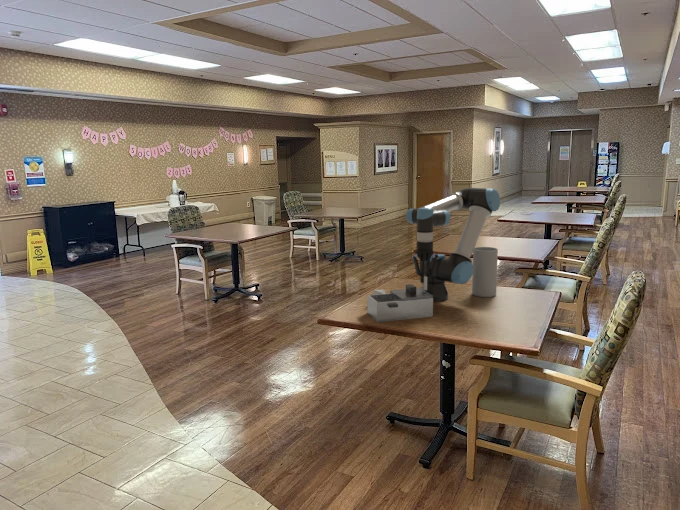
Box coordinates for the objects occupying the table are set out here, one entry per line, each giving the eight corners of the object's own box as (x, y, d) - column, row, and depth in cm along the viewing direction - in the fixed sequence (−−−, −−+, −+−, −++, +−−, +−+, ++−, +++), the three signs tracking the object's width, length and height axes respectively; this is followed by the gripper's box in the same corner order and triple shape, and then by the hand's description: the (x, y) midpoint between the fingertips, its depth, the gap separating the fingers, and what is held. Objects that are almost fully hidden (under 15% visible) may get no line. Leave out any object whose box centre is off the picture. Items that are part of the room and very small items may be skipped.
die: (382, 310, 258) (392, 293, 259) (367, 301, 258) (376, 284, 260) (381, 311, 266) (390, 294, 268) (366, 302, 267) (375, 286, 268)
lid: (419, 289, 257) (419, 280, 256) (432, 297, 242) (433, 288, 241) (389, 292, 253) (389, 283, 252) (401, 300, 238) (401, 291, 237)
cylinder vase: (470, 291, 287) (472, 246, 282) (494, 291, 285) (495, 246, 280) (473, 297, 275) (474, 251, 270) (497, 297, 273) (499, 251, 268)
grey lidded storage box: (418, 306, 260) (418, 289, 258) (434, 317, 242) (434, 299, 240) (366, 312, 253) (365, 294, 252) (378, 323, 235) (378, 304, 234)
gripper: (434, 238, 249) (433, 286, 254) (408, 240, 246) (408, 288, 251) (441, 241, 242) (440, 290, 246) (415, 242, 239) (414, 292, 243)
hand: (424, 289), depth 248 cm, fingers closed
